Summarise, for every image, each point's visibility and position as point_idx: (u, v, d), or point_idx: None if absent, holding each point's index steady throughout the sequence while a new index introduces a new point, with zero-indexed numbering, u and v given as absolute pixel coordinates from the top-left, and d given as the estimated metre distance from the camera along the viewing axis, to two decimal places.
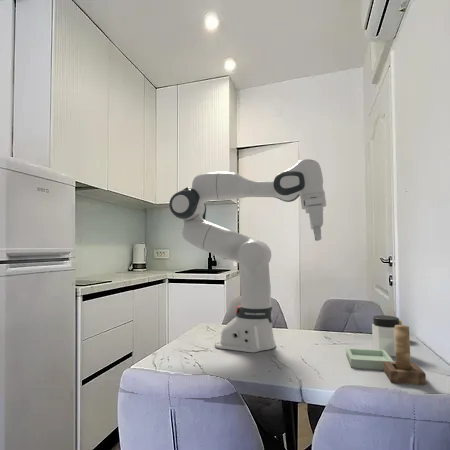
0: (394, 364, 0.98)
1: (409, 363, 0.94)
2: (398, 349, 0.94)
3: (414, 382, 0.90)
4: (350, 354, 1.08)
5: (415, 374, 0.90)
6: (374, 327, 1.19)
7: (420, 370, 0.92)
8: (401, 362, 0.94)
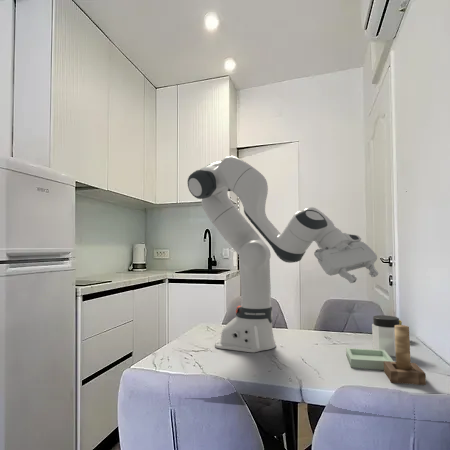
0: (394, 364, 0.98)
1: (409, 363, 0.94)
2: (398, 349, 0.94)
3: (414, 382, 0.90)
4: (350, 354, 1.08)
5: (415, 374, 0.90)
6: (374, 327, 1.19)
7: (420, 370, 0.92)
8: (401, 362, 0.94)
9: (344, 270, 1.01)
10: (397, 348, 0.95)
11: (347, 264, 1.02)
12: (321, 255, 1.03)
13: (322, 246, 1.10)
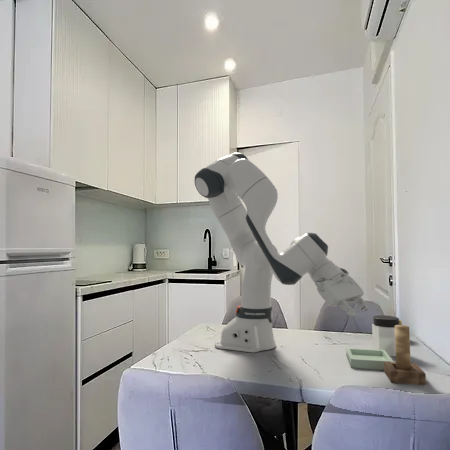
0: (394, 364, 0.98)
1: (409, 363, 0.94)
2: (398, 349, 0.94)
3: (414, 382, 0.90)
4: (350, 354, 1.08)
5: (415, 374, 0.90)
6: (374, 327, 1.19)
7: (420, 370, 0.92)
8: (401, 362, 0.94)
9: (345, 302, 1.00)
10: (397, 348, 0.95)
11: (346, 297, 1.02)
12: (323, 285, 1.01)
13: (317, 276, 1.08)
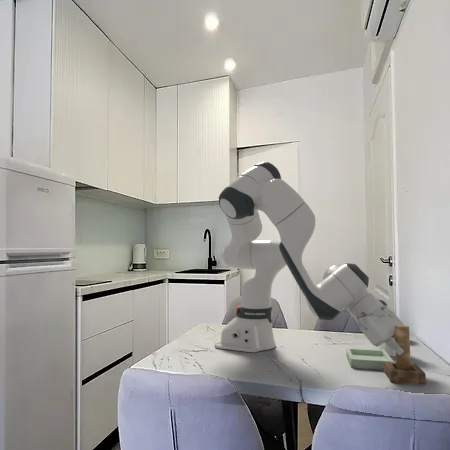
0: (394, 364, 0.98)
1: (409, 363, 0.94)
2: None
3: (414, 382, 0.90)
4: (350, 354, 1.08)
5: (415, 374, 0.90)
6: None
7: (420, 370, 0.92)
8: (401, 362, 0.94)
9: (393, 340, 0.94)
10: None
11: (390, 334, 0.94)
12: (366, 322, 0.93)
13: (357, 310, 1.00)
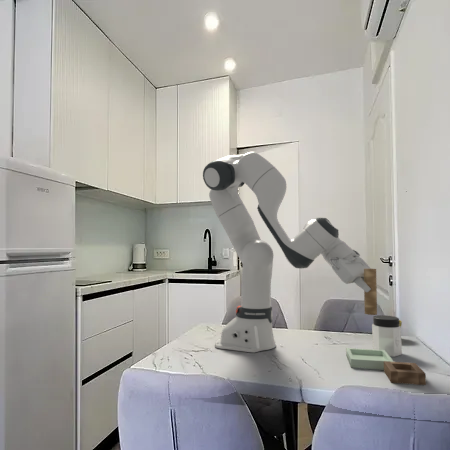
0: (394, 364, 0.98)
1: (375, 300, 1.06)
2: None
3: (414, 382, 0.90)
4: (350, 354, 1.08)
5: (415, 374, 0.90)
6: (374, 327, 1.19)
7: (420, 370, 0.92)
8: (368, 299, 1.07)
9: (361, 279, 1.06)
10: None
11: (359, 275, 1.07)
12: (338, 263, 1.06)
13: (331, 256, 1.13)
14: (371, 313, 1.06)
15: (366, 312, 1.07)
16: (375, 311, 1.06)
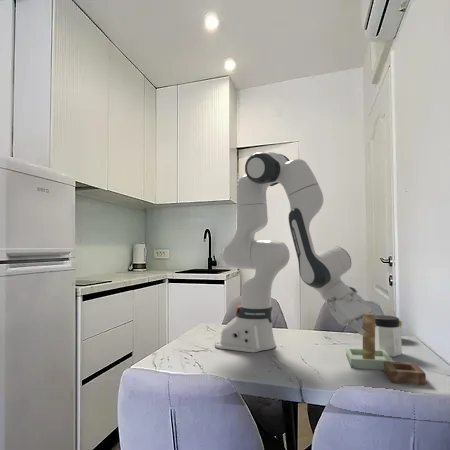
0: (394, 364, 0.98)
1: (373, 346, 1.07)
2: (364, 334, 1.07)
3: (414, 382, 0.90)
4: (350, 354, 1.08)
5: (415, 374, 0.90)
6: None
7: (420, 370, 0.92)
8: (366, 344, 1.07)
9: (355, 322, 1.05)
10: (364, 333, 1.08)
11: (356, 316, 1.07)
12: (335, 305, 1.07)
13: (328, 296, 1.13)
14: None
15: (364, 357, 1.07)
16: (373, 357, 1.06)
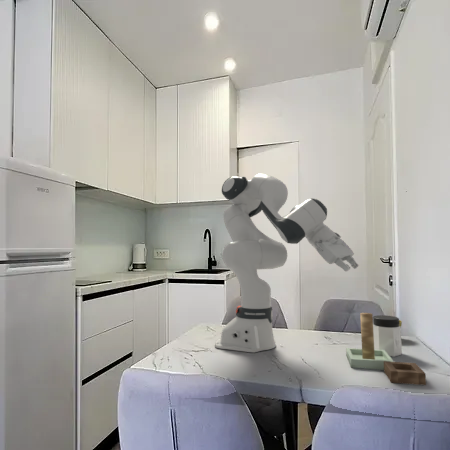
0: (394, 364, 0.98)
1: (372, 345, 1.07)
2: (363, 334, 1.08)
3: (414, 382, 0.90)
4: (350, 354, 1.08)
5: (415, 374, 0.90)
6: (374, 327, 1.19)
7: (420, 370, 0.92)
8: (365, 344, 1.07)
9: (341, 260, 1.15)
10: (362, 332, 1.08)
11: (341, 255, 1.17)
12: (322, 246, 1.16)
13: (315, 239, 1.22)
14: None
15: (364, 358, 1.07)
16: (373, 357, 1.07)
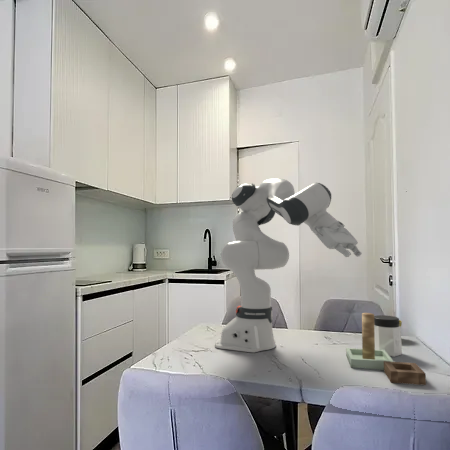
0: (394, 364, 0.98)
1: (373, 346, 1.07)
2: (364, 334, 1.08)
3: (414, 382, 0.90)
4: (350, 354, 1.08)
5: (415, 374, 0.90)
6: (374, 327, 1.19)
7: (420, 370, 0.92)
8: (366, 344, 1.07)
9: (341, 245, 1.13)
10: (363, 333, 1.08)
11: (342, 241, 1.15)
12: (322, 231, 1.15)
13: (317, 226, 1.21)
14: None
15: (364, 358, 1.07)
16: (373, 357, 1.06)
